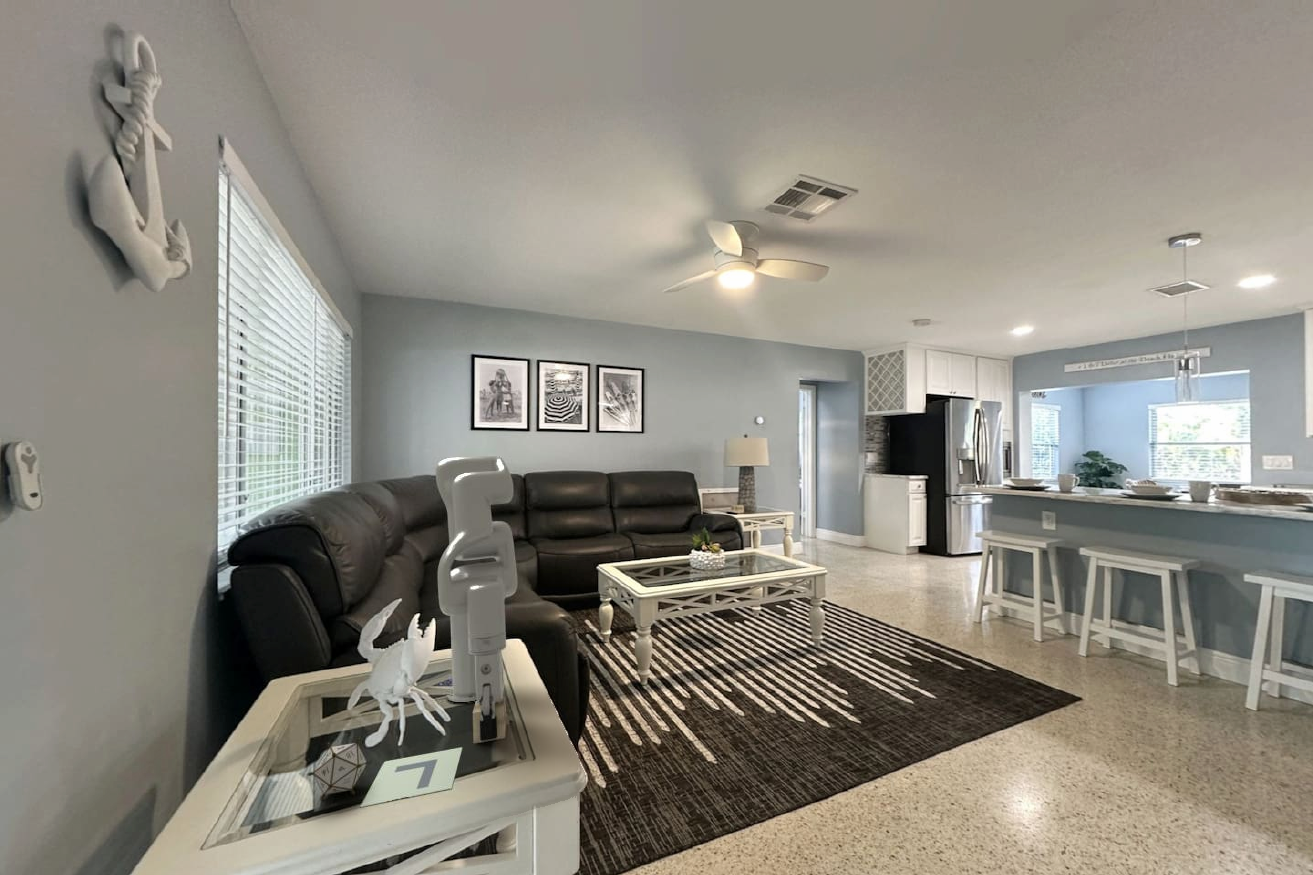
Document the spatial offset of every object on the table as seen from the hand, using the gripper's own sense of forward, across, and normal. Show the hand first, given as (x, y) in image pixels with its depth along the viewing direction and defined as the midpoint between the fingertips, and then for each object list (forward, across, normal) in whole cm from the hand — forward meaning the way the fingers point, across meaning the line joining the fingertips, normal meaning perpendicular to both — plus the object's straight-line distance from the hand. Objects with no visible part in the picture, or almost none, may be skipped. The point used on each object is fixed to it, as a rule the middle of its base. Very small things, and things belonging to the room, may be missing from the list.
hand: (490, 729), depth 103 cm
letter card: (+1, -11, +12) cm, 16 cm away
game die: (+1, -12, +24) cm, 27 cm away
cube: (+1, 0, 0) cm, 1 cm away
